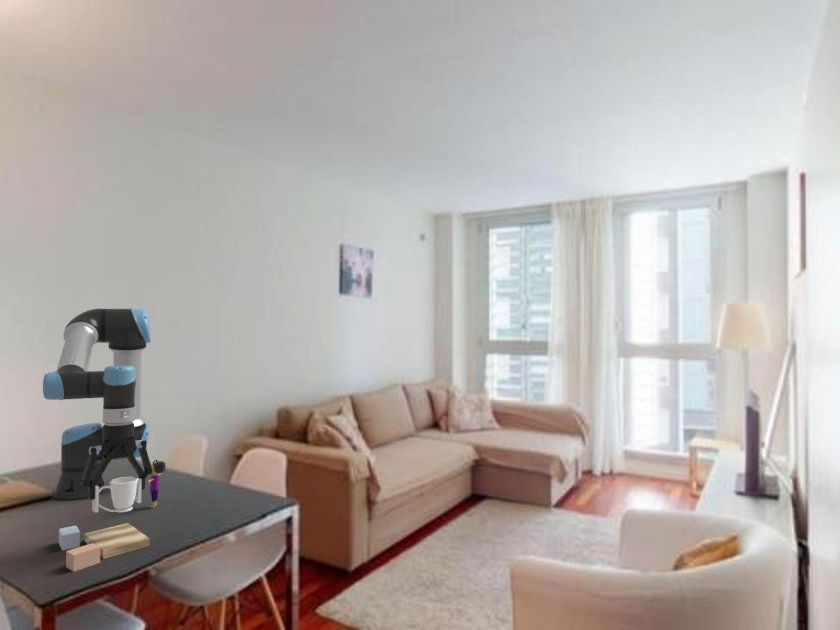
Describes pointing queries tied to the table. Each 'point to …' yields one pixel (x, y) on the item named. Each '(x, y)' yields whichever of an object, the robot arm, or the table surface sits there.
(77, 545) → the slate brick
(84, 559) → the terracotta brick
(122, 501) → the cup
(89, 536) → the oak board
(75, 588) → the table surface
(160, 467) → the toy
